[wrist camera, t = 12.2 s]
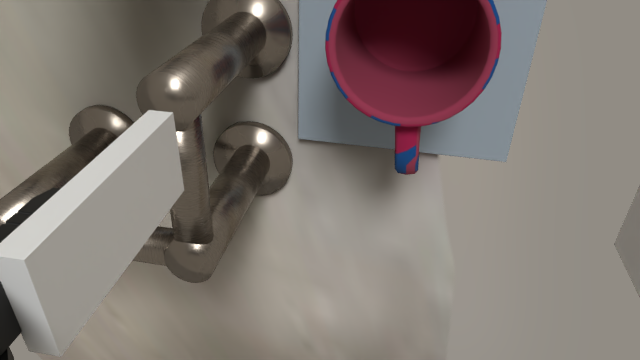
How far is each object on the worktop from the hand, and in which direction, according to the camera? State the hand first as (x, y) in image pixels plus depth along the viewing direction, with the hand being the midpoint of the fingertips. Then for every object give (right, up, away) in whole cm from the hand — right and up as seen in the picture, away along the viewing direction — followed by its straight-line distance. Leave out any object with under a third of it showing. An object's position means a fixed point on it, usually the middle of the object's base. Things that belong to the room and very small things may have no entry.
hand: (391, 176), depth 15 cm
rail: (-11, +5, +16) cm, 20 cm away
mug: (+3, +7, +12) cm, 14 cm away
